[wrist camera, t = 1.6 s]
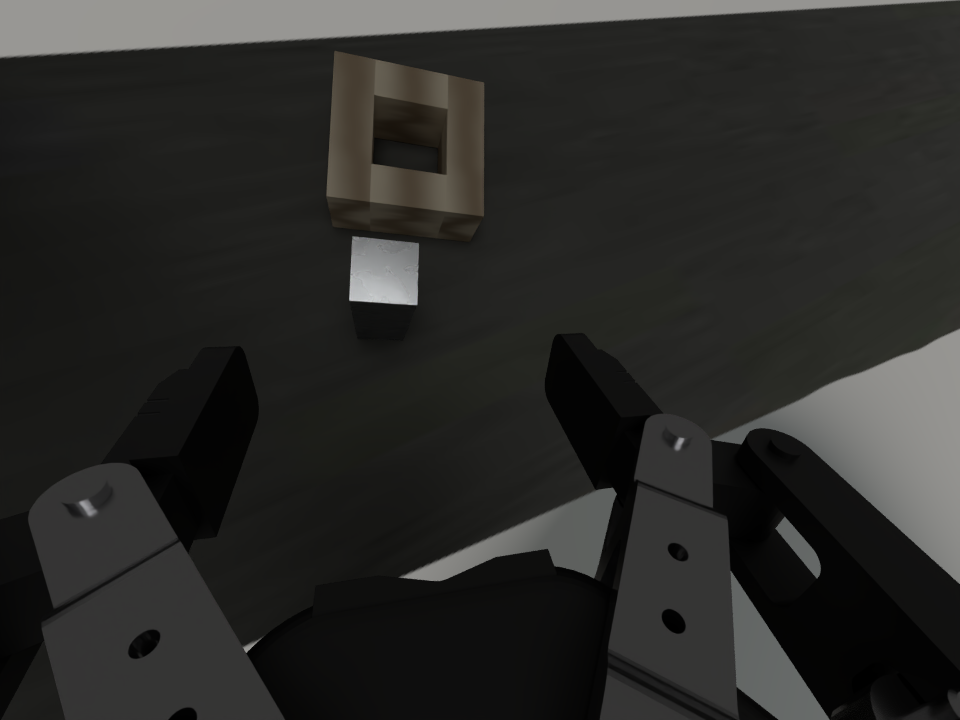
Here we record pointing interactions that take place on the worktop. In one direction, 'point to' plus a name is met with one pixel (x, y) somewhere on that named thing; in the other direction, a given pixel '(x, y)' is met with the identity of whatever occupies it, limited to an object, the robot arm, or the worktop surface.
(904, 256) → the worktop surface
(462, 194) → the well block
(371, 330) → the grey square pillar
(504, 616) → the robot arm
